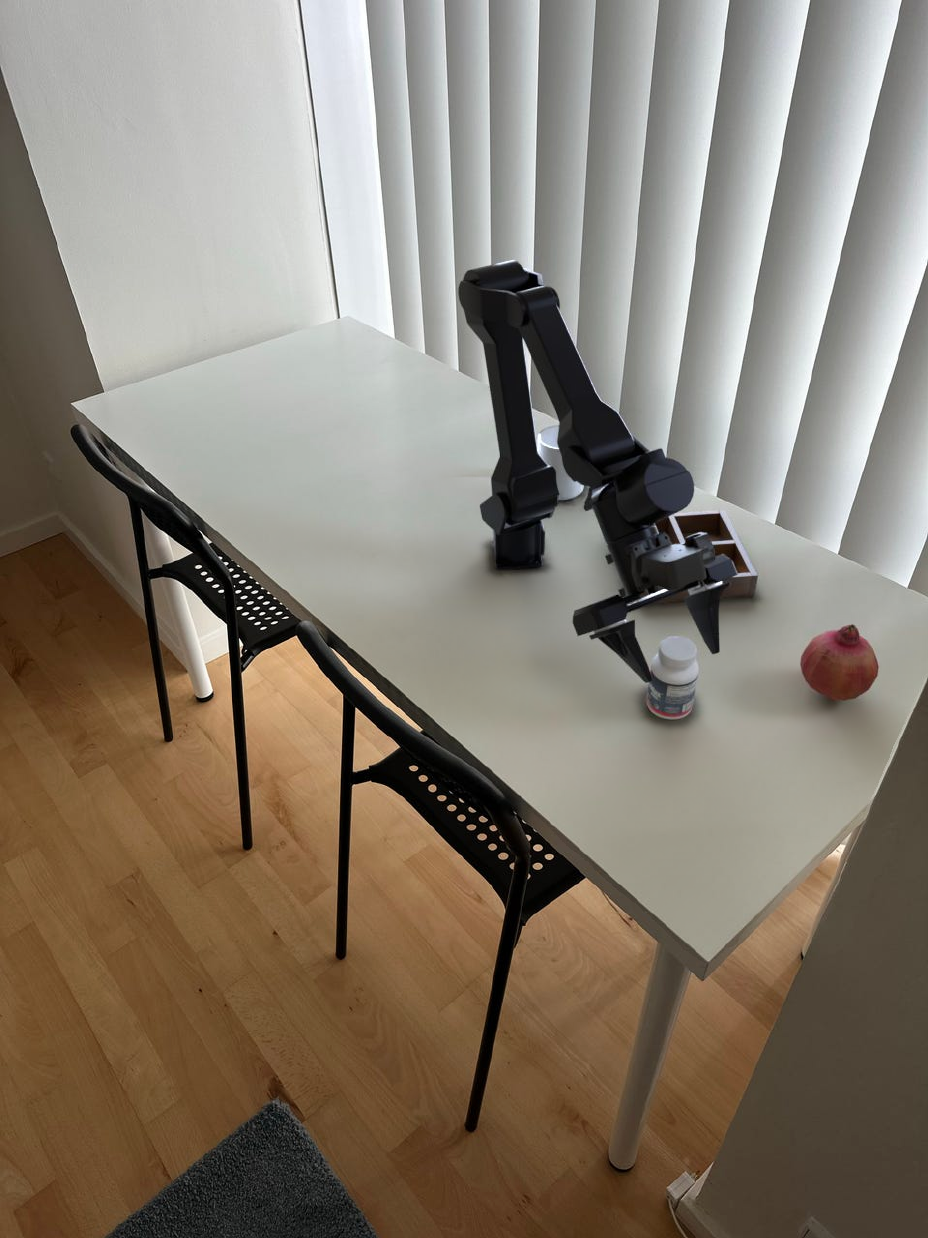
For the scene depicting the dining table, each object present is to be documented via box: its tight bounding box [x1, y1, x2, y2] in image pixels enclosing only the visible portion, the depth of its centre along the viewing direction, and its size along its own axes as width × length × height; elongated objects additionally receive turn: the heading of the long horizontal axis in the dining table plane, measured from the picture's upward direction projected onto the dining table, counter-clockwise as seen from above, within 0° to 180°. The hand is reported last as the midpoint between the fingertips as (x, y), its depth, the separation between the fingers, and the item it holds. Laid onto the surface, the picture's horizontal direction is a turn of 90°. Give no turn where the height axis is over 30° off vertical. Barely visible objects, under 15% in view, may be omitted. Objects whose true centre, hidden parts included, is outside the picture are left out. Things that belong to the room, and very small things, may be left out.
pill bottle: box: [646, 635, 700, 721], centre depth 106 cm, size 5×5×9 cm
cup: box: [537, 424, 585, 501], centre depth 143 cm, size 7×10×9 cm
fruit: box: [799, 623, 879, 701], centre depth 107 cm, size 8×8×10 cm
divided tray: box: [640, 509, 759, 605], centre depth 128 cm, size 15×15×4 cm
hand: (683, 667), depth 104 cm, fingers open, 9 cm apart
